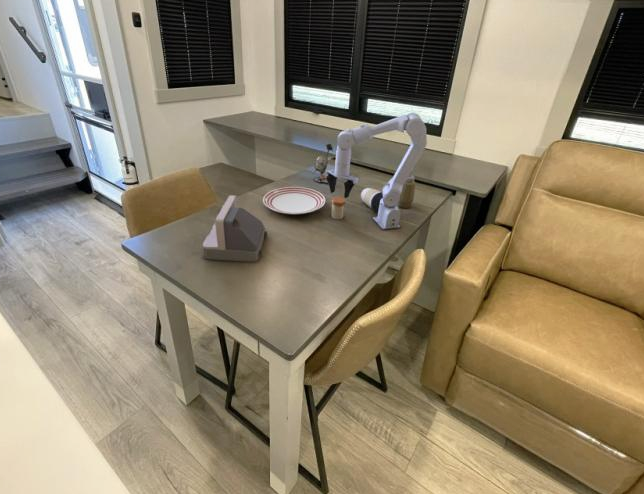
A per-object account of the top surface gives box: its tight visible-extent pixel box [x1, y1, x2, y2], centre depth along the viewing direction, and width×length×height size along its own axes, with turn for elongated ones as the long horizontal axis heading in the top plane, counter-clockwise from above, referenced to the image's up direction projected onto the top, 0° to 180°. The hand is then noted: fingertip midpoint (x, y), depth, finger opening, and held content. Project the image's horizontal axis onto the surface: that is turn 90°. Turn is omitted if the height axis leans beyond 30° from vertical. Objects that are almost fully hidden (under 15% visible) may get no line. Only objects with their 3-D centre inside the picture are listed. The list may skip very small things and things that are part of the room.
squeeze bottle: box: [398, 170, 416, 209], centre depth 149 cm, size 8×8×18 cm
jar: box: [330, 203, 346, 220], centre depth 138 cm, size 5×5×7 cm
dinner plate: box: [262, 186, 326, 216], centre depth 146 cm, size 27×27×3 cm
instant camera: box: [202, 195, 268, 263], centre depth 113 cm, size 21×21×15 cm
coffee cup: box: [360, 187, 383, 213], centre depth 145 cm, size 9×9×15 cm
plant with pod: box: [312, 142, 334, 184], centre depth 169 cm, size 8×11×20 cm
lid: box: [331, 196, 347, 207], centre depth 136 cm, size 6×6×2 cm
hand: (339, 194), depth 135 cm, fingers open, 6 cm apart
